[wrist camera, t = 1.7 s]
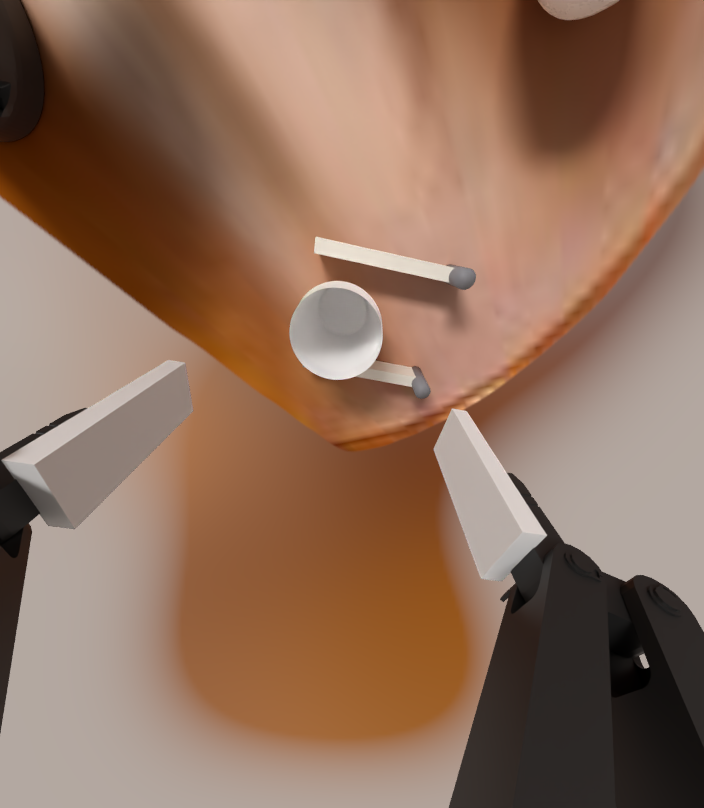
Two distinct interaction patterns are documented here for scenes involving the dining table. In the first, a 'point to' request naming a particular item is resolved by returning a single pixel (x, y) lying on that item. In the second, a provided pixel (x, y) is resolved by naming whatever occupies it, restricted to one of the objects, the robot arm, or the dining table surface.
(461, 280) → the pair of white bars
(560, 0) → the lidded jar
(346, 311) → the cup
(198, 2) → the dining table surface
